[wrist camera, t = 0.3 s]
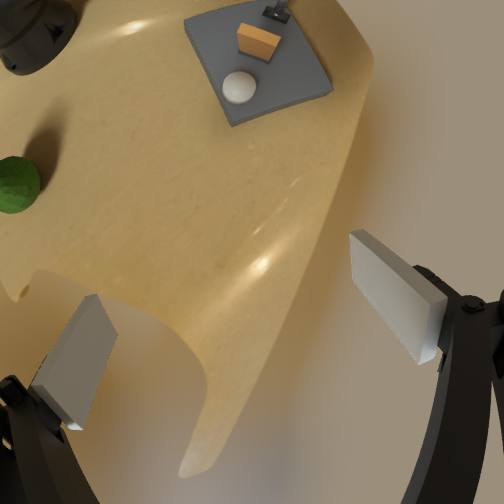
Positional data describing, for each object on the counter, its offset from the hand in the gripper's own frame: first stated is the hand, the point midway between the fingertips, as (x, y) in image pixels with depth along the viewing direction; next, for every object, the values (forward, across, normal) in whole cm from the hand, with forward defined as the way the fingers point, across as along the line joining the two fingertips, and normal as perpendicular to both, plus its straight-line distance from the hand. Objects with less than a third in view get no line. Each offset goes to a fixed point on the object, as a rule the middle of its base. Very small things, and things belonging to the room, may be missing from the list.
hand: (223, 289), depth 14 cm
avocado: (+26, -28, +10) cm, 39 cm away
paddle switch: (+26, +8, +17) cm, 32 cm away
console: (+30, +9, +18) cm, 36 cm away
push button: (+26, +5, +12) cm, 29 cm away
